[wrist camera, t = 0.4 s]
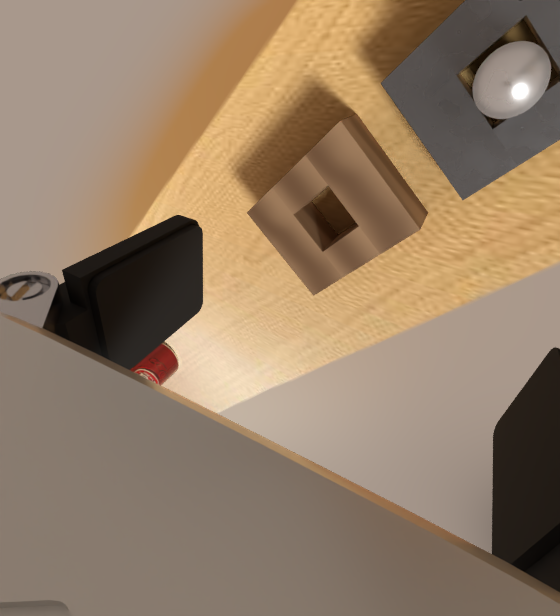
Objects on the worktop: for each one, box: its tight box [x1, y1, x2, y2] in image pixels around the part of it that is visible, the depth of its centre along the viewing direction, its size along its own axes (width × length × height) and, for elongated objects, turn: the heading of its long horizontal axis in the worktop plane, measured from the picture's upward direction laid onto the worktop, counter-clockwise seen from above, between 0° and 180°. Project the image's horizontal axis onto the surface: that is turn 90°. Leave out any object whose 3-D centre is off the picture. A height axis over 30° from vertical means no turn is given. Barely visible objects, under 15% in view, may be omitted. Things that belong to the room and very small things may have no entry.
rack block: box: [247, 114, 428, 296], centre depth 40 cm, size 14×12×5 cm
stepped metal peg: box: [473, 41, 551, 119], centre depth 26 cm, size 4×4×12 cm
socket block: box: [381, 0, 560, 200], centre depth 29 cm, size 14×12×4 cm
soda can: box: [130, 343, 179, 386], centre depth 68 cm, size 7×7×12 cm
